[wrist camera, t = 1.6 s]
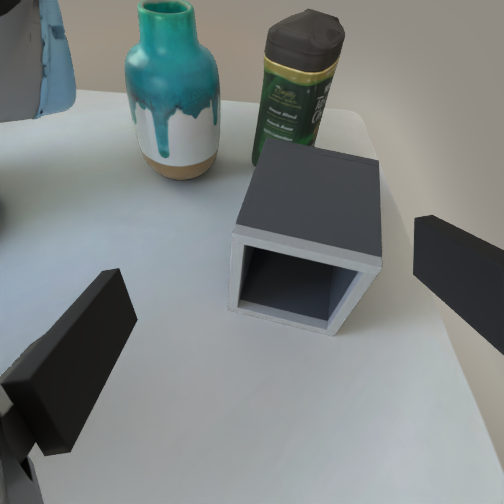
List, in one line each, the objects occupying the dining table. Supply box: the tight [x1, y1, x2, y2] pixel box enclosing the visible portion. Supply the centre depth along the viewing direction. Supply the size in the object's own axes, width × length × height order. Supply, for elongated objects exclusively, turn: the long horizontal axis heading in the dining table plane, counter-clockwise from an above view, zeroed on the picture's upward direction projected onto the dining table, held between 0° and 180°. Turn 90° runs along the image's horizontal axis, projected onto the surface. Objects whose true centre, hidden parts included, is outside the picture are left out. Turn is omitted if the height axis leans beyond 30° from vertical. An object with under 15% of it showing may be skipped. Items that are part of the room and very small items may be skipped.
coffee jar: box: [252, 9, 345, 167], centre depth 42 cm, size 10×8×19 cm
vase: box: [125, 0, 220, 180], centre depth 38 cm, size 11×11×19 cm
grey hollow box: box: [228, 137, 382, 336], centre depth 32 cm, size 13×11×12 cm
